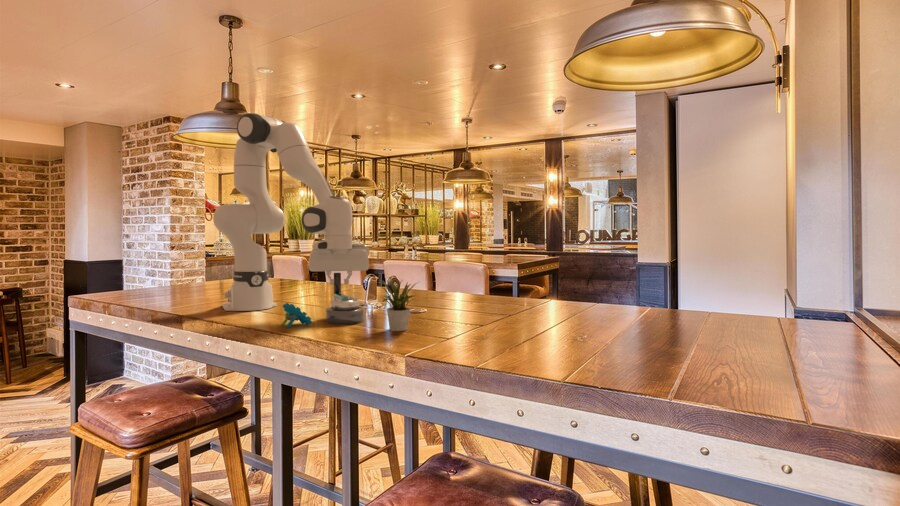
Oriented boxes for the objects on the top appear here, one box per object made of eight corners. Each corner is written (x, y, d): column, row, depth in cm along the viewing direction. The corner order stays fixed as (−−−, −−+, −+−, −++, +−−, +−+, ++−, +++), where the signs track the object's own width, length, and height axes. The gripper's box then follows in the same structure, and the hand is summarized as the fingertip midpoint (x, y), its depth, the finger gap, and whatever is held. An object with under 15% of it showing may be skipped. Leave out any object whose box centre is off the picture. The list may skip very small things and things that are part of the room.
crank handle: (362, 309, 156) (362, 275, 156) (334, 311, 152) (334, 277, 152) (349, 302, 170) (349, 272, 170) (323, 304, 166) (323, 273, 166)
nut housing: (319, 320, 159) (319, 307, 159) (352, 316, 167) (352, 303, 167) (336, 326, 150) (336, 312, 150) (370, 321, 158) (370, 308, 158)
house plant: (360, 331, 142) (360, 276, 141) (384, 323, 155) (384, 272, 154) (404, 336, 137) (404, 278, 136) (425, 327, 150) (425, 274, 149)
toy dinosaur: (318, 321, 149) (295, 300, 145) (307, 337, 146) (282, 316, 141) (301, 321, 157) (278, 301, 153) (290, 336, 154) (266, 316, 149)
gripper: (367, 243, 173) (367, 282, 174) (307, 243, 166) (307, 284, 167) (371, 244, 167) (371, 284, 168) (309, 244, 160) (309, 286, 161)
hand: (339, 284), depth 167 cm, fingers open, 3 cm apart
